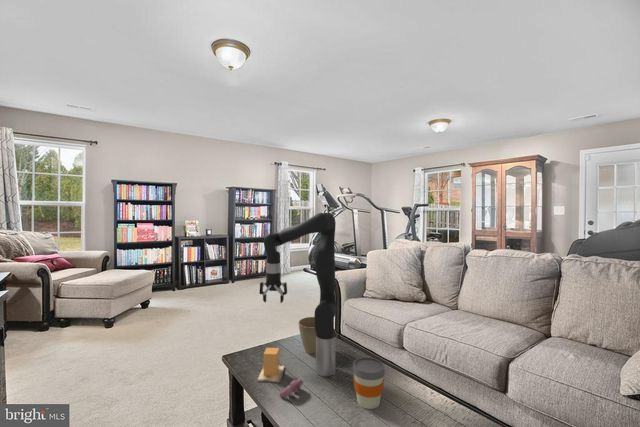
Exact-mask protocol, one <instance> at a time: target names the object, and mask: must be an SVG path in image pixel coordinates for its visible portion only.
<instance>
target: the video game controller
mask: <svg viewBox="0 0 640 427" xmlns="http://www.w3.org/2000/svg"><path fill="white" fill-rule="evenodd" d="M303 384H304V381H303V380H302V379H300V378H297V379H294V380H292V381H290V383H289V384H288V385H287V386H286V387H285V388H284V389H283V390H281V391H280V392H279V397H280V398H282V399H284V398H287V397H291V396H292V395H293V394H296V393H297V392H298V391H299V389H300V388H301V387H302V386H303Z"/></svg>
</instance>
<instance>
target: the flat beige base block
mask: <svg viewBox="0 0 640 427" xmlns="http://www.w3.org/2000/svg"><path fill="white" fill-rule="evenodd" d="M284 370H285V365H279V371H278V373H277V376H264V365H263V366H262V369H261V371H260V373H259V375H258V378H257V382H262V383H263V382H264V383H265V382H266V383H281V379H282V377H283V373H284Z"/></svg>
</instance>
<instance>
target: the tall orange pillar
mask: <svg viewBox="0 0 640 427" xmlns="http://www.w3.org/2000/svg"><path fill="white" fill-rule="evenodd" d="M263 366H264V376H277V373H278V371H279V366H280V348H279V347H266V348H265V350H264V352H263Z"/></svg>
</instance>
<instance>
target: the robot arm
mask: <svg viewBox="0 0 640 427" xmlns="http://www.w3.org/2000/svg"><path fill="white" fill-rule="evenodd" d="M336 222H337V221H336V218H335V217H334V215H333V214H332V213H331V212H319V213H316V214H315V215H313V216H311V217H309V218H308V219H306V220H304V221H302V222H300V223H298V224H294V225H292V226H289V227H286V228H284V229H281V230H280V231H279V232H275V233H274V232H273V233H268V234H266V235H265V236H264V238H263V247H264V250H265V251H264V252H265V254H266V267H265V282H264V281H260V283H259V294H260V295H262V301H263V302H264V303H266V302H267V293H268V291H269V292H278V294H280V298H279V299H280V301H279V303H280V304H283V302H284V299H285V298H284V296H286V295H287V294H288V285H287V281H285V282H282V281H281V279H282V278H281V277H282V276H281V274H282V272H281V271H282V266H281V253H280V251H277V250H276V247H279V246H282V245H285V244H287V243H290V242H293V241H296V240H298V239H300V238H302V237H305V236H306V235H311V234H317V233H320V243H319V248H318V251H317V252H316V257H315V276H316V279H317V282H318V286H319V296H320V297H319V303H318V305H317V306H316V308H315V309H314V315H313V317H314V318H315V331H316V354H315V373H316V375H318V376H320V377H331V376H335V375H336V329H335V320H334V319H335V316H336V315H337V311H338V307H337V300H336V291H335V289H336V261H335V260H336V259H335V258H336V255H335V254H336V252H335V249H336V248H335V247H336V246H335V237H336ZM281 286H282V287H283V288H281ZM264 287H266V289H264Z"/></svg>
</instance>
